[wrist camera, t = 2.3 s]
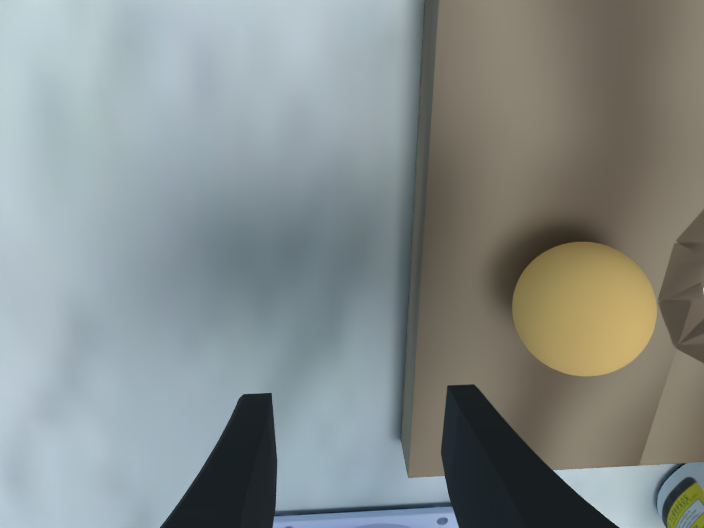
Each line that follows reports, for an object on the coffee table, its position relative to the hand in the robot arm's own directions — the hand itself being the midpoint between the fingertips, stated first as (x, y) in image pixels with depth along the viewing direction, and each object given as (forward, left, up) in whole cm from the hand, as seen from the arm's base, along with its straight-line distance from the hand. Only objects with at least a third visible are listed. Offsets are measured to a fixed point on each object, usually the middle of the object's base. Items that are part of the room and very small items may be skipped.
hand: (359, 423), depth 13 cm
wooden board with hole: (+11, 0, -8) cm, 14 cm away
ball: (+7, 0, -4) cm, 8 cm away
